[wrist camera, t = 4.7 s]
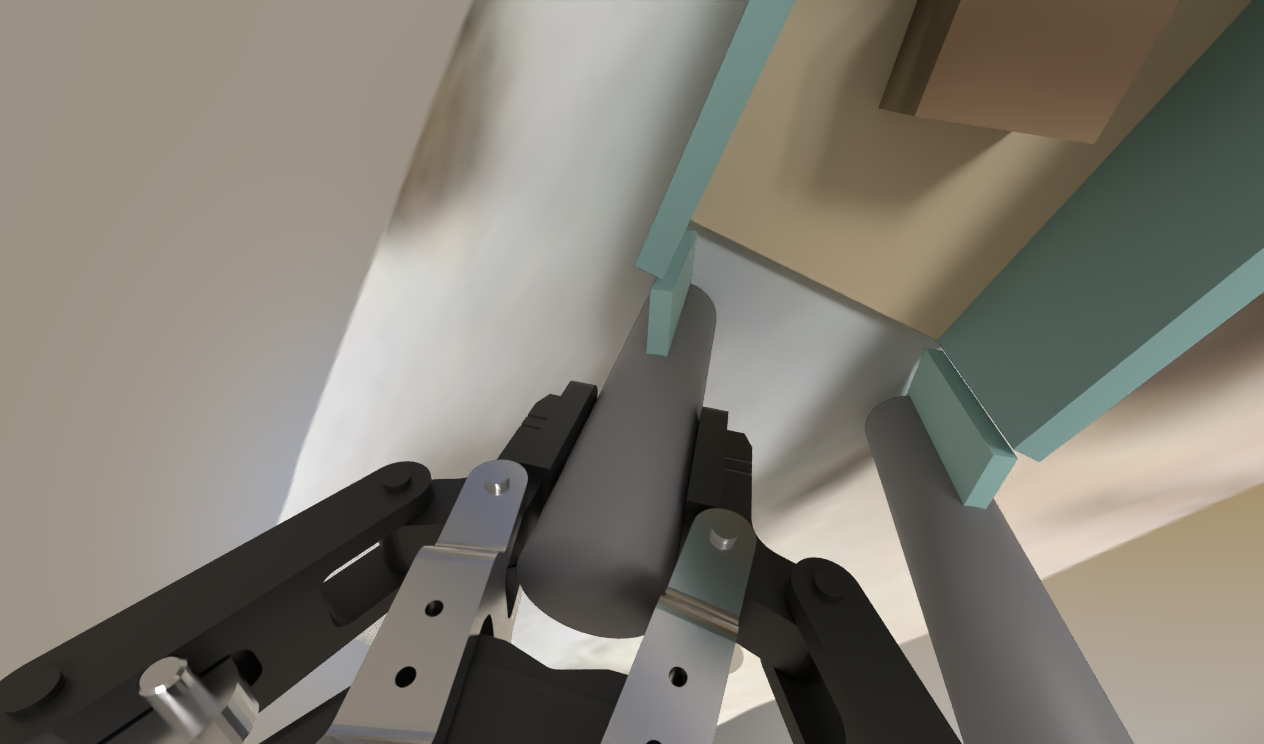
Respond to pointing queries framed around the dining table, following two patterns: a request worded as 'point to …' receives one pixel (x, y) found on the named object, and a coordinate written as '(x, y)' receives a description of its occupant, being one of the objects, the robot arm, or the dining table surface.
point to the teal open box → (992, 203)
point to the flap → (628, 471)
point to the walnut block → (1023, 62)
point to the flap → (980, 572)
